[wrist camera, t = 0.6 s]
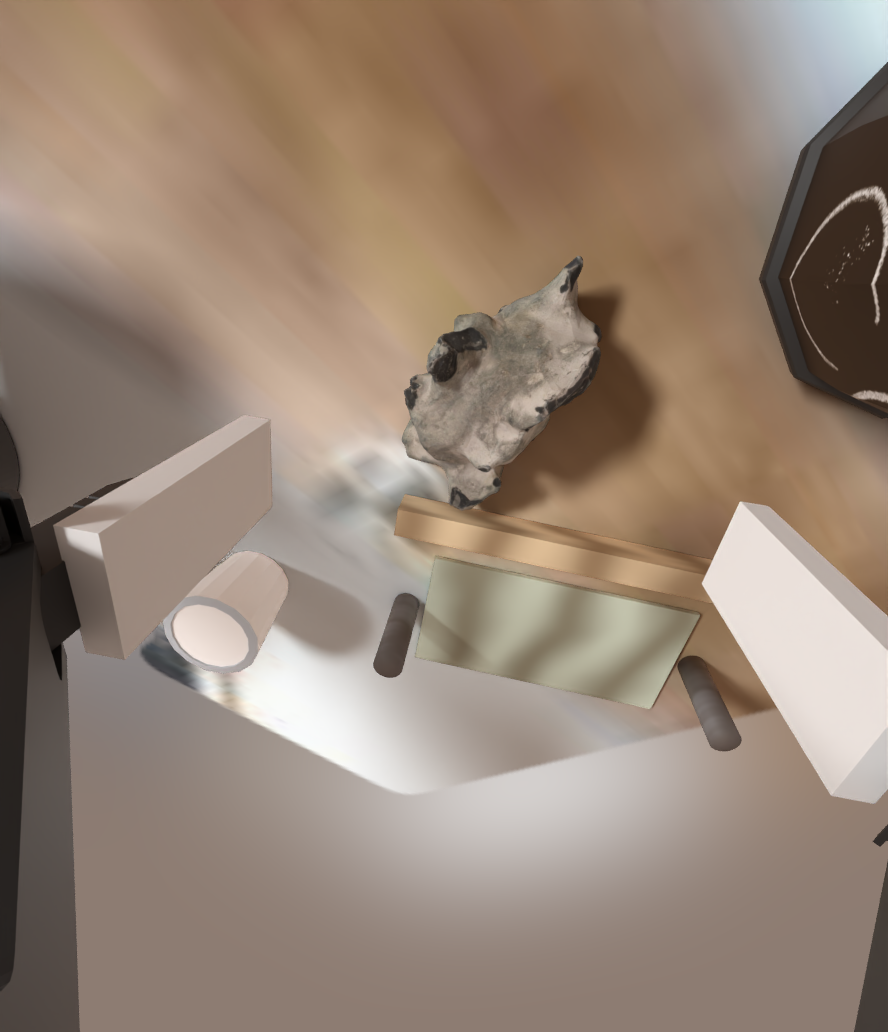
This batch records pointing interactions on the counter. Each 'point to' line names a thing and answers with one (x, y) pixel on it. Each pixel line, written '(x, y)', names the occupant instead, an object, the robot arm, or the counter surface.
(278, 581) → the shot glass
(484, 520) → the grey tray with pegs
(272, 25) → the counter surface
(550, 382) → the decorative stone
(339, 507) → the counter surface
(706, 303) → the counter surface
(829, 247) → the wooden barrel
